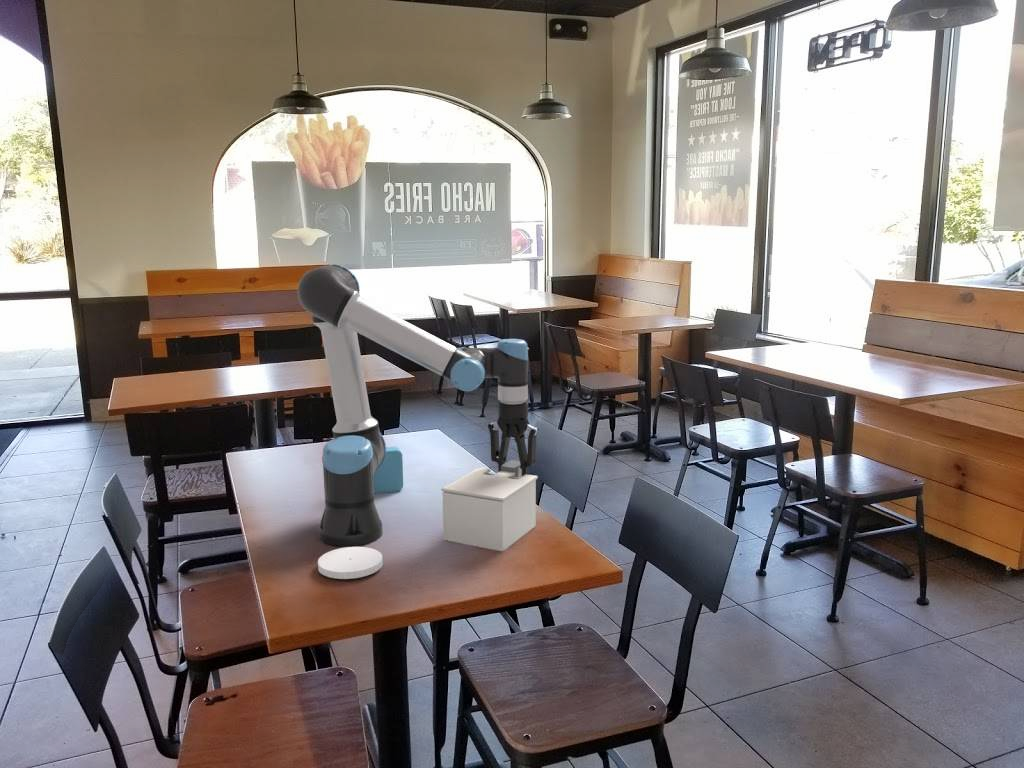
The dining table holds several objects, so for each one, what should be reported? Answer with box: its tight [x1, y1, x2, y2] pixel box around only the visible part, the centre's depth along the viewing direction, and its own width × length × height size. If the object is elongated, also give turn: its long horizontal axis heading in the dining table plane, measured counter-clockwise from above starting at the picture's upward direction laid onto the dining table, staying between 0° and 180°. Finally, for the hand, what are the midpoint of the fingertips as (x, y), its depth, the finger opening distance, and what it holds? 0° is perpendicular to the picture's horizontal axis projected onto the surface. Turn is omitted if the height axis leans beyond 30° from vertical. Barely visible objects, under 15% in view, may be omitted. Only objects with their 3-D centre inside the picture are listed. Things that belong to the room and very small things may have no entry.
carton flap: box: [440, 459, 539, 501], centre depth 203 cm, size 25×17×3 cm
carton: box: [442, 472, 537, 552], centre depth 202 cm, size 18×16×12 cm
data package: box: [373, 446, 404, 494], centre depth 234 cm, size 12×4×12 cm, turn 106°
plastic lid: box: [317, 546, 384, 580], centre depth 182 cm, size 14×14×2 cm
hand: (513, 489), depth 212 cm, fingers closed on carton flap, 4 cm apart
